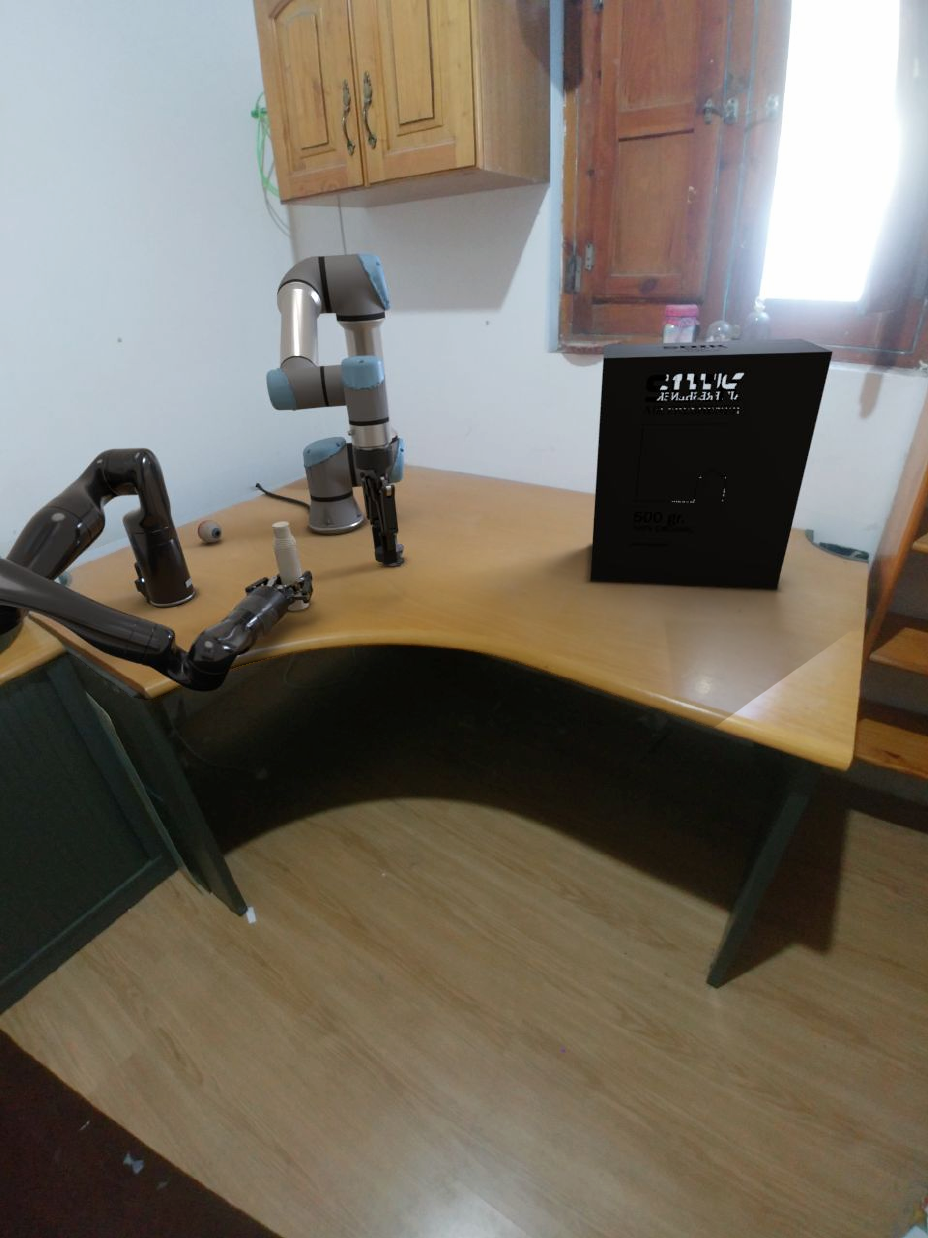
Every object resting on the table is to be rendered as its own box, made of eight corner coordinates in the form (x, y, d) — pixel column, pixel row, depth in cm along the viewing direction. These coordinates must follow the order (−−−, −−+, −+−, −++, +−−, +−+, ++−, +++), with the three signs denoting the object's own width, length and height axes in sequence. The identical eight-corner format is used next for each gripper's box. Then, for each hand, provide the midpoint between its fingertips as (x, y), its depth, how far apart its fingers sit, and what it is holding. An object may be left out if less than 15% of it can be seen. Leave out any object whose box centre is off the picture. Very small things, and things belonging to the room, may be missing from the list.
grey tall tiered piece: (401, 567, 143) (396, 519, 137) (378, 566, 144) (371, 518, 138) (408, 556, 148) (403, 510, 142) (385, 556, 149) (379, 509, 143)
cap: (378, 554, 127) (376, 545, 126) (398, 554, 127) (397, 544, 126) (373, 563, 124) (372, 553, 123) (394, 562, 123) (393, 553, 122)
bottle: (302, 611, 126) (284, 529, 117) (283, 610, 127) (264, 527, 118) (312, 601, 130) (296, 520, 121) (293, 599, 131) (276, 519, 122)
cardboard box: (756, 549, 141) (800, 338, 118) (776, 589, 124) (832, 351, 101) (592, 544, 148) (604, 344, 126) (590, 580, 131) (603, 357, 109)
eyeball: (211, 547, 159) (205, 526, 156) (196, 543, 162) (190, 522, 159) (229, 539, 163) (224, 518, 160) (214, 536, 166) (209, 515, 164)
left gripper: (229, 627, 117) (271, 587, 131) (296, 632, 114) (332, 591, 128) (219, 593, 113) (264, 556, 128) (289, 598, 110) (326, 559, 125)
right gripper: (339, 440, 119) (355, 549, 131) (368, 457, 106) (384, 578, 117) (374, 434, 122) (388, 541, 134) (408, 450, 108) (419, 569, 120)
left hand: (298, 574), depth 128 cm, fingers closed on bottle, 4 cm apart
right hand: (386, 558), depth 125 cm, fingers closed on cap, 4 cm apart
